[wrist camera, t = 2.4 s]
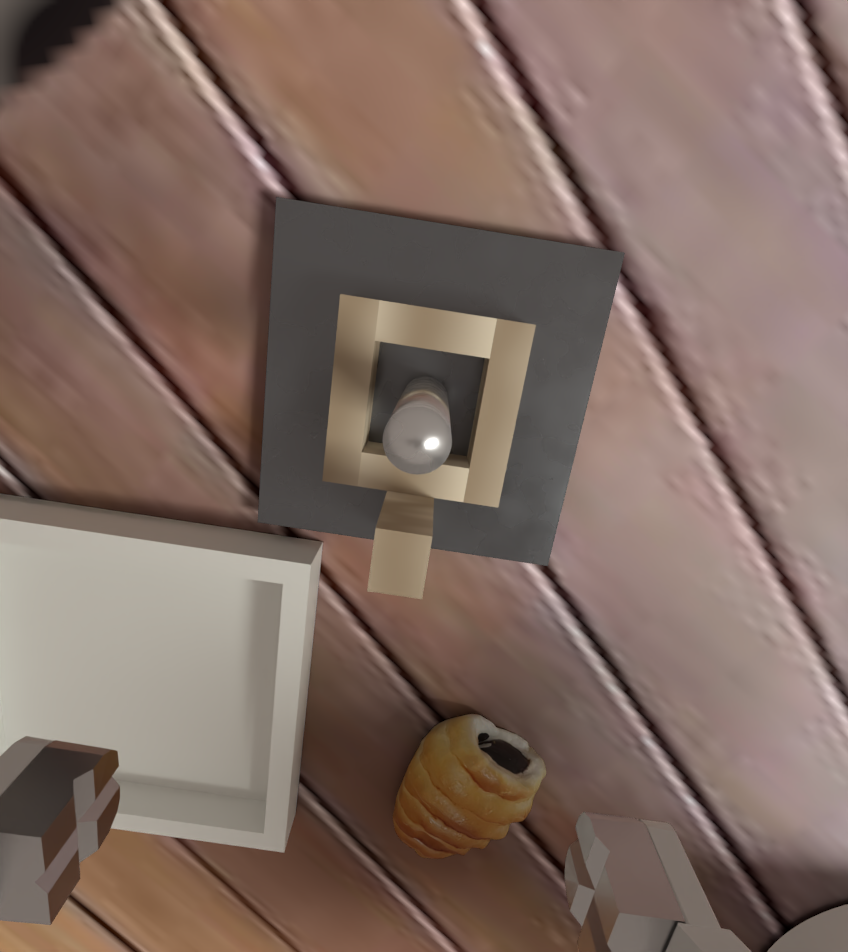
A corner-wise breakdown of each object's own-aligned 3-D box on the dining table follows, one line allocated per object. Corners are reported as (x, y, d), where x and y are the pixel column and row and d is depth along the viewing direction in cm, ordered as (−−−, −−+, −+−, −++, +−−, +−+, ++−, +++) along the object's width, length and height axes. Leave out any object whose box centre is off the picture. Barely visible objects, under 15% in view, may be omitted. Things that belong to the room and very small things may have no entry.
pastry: (458, 846, 32) (460, 914, 28) (365, 797, 31) (355, 860, 27) (551, 746, 29) (566, 806, 26) (453, 690, 28) (454, 744, 25)
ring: (527, 324, 21) (559, 326, 16) (483, 541, 24) (497, 610, 19) (349, 296, 21) (315, 288, 16) (327, 517, 24) (291, 580, 18)
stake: (616, 255, 21) (734, 214, 13) (543, 556, 26) (596, 677, 17) (283, 202, 21) (176, 123, 13) (264, 514, 25) (174, 615, 17)
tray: (322, 541, 26) (310, 564, 23) (296, 811, 31) (284, 852, 29) (-37, 487, 25) (-87, 505, 23) (-2, 769, 31) (-40, 807, 28)
